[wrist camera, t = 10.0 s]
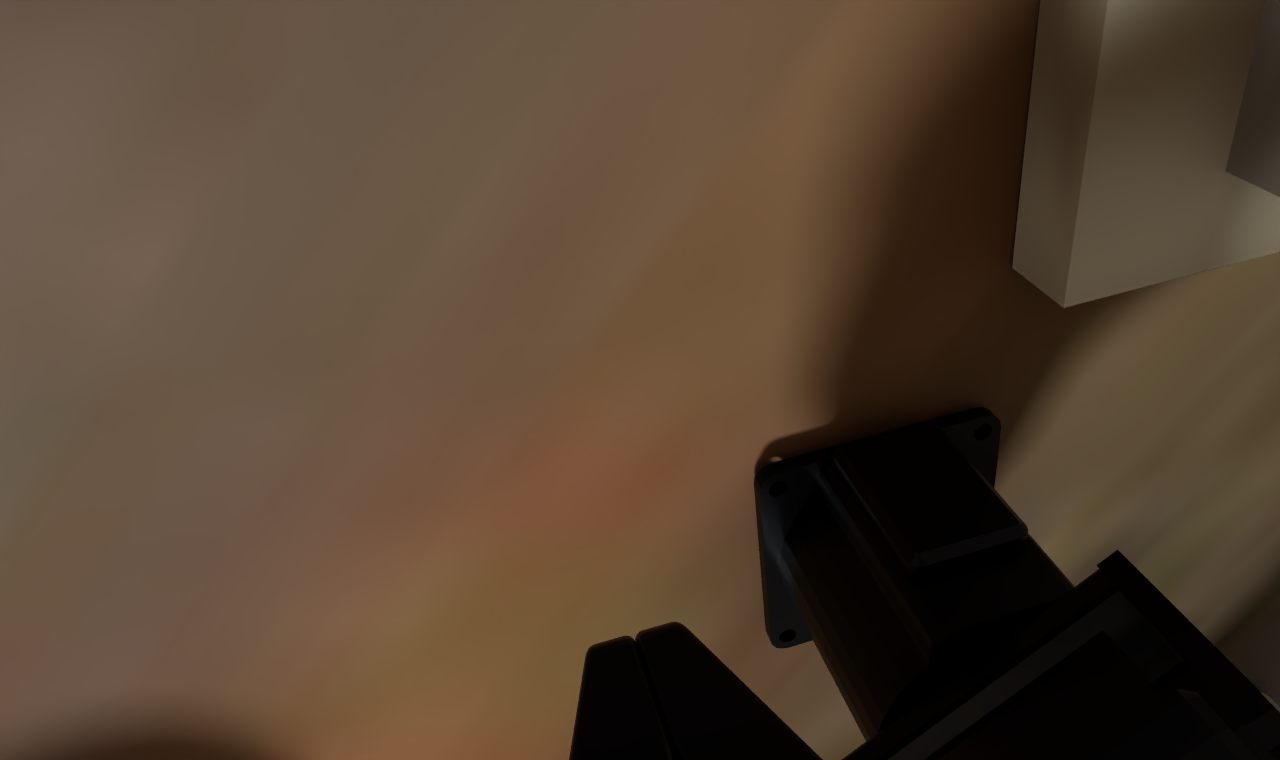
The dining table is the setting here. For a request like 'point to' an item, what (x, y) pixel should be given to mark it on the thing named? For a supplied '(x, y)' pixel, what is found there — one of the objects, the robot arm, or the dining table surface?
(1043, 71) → the control panel
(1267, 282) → the dining table surface
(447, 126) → the dining table surface
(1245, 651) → the dining table surface
